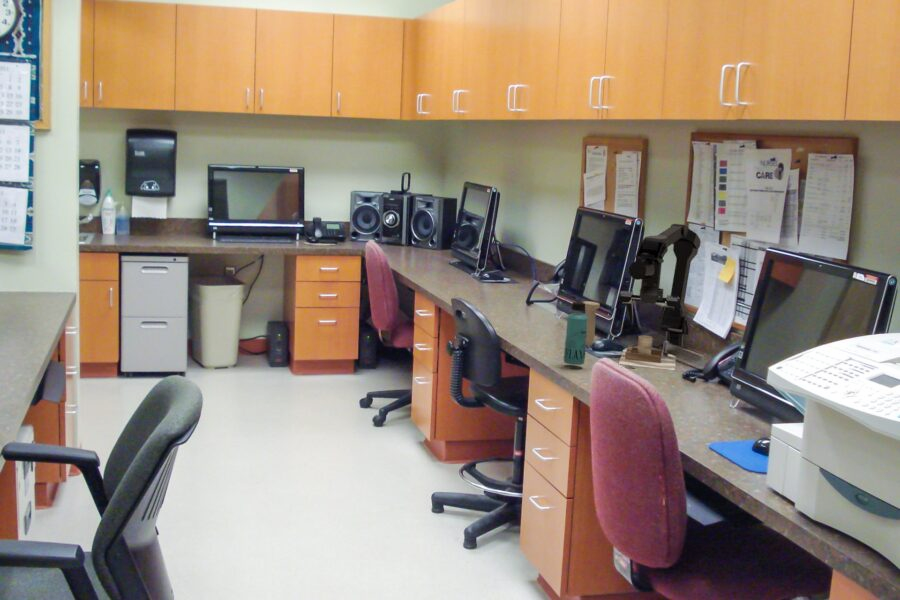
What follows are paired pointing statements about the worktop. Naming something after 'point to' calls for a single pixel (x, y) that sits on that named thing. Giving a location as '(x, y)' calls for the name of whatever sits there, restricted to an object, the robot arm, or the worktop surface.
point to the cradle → (647, 359)
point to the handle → (590, 320)
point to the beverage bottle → (576, 336)
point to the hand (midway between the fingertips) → (646, 325)
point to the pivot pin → (645, 345)
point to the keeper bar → (683, 353)
